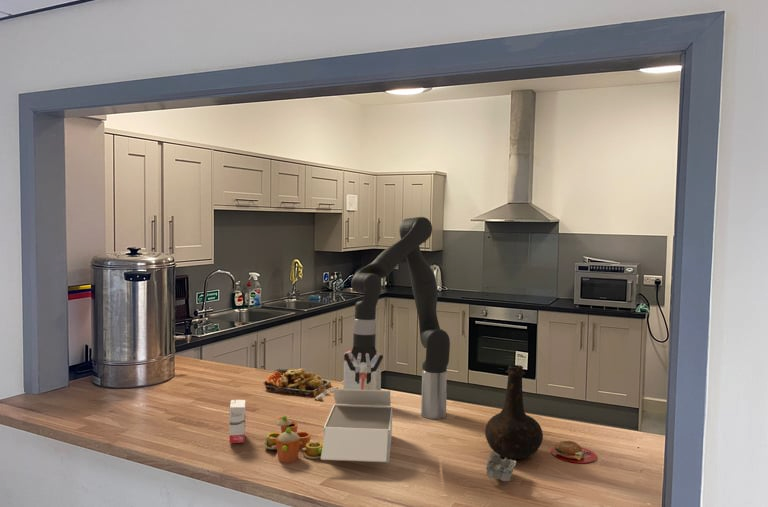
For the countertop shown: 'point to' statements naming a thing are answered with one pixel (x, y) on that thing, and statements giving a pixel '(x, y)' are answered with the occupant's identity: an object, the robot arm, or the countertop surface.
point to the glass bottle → (514, 423)
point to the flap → (362, 395)
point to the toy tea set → (292, 442)
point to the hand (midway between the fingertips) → (362, 383)
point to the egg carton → (499, 467)
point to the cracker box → (352, 384)
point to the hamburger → (572, 452)
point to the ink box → (237, 421)
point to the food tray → (298, 383)
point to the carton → (358, 433)
